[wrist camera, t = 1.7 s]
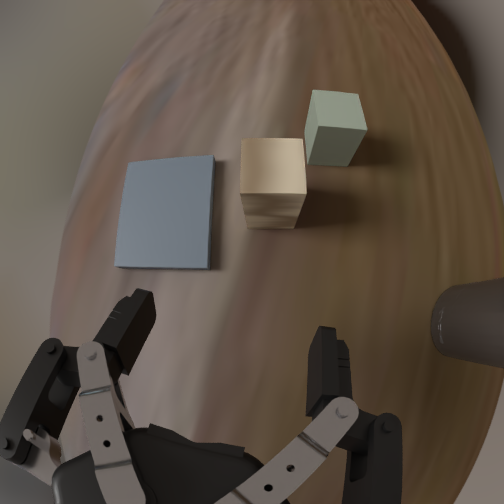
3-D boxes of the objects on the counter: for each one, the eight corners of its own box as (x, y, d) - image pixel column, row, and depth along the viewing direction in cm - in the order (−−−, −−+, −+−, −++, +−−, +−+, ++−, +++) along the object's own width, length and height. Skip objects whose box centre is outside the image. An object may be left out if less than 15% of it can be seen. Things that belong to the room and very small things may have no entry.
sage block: (342, 133, 32) (357, 94, 25) (347, 166, 31) (367, 130, 24) (304, 131, 33) (312, 89, 25) (307, 164, 32) (318, 125, 24)
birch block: (292, 186, 31) (302, 138, 21) (293, 228, 30) (306, 193, 20) (248, 186, 31) (241, 138, 22) (247, 228, 30) (240, 193, 21)
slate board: (215, 161, 32) (213, 155, 31) (209, 269, 30) (207, 267, 28) (133, 167, 33) (128, 162, 31) (120, 267, 30) (114, 266, 29)
